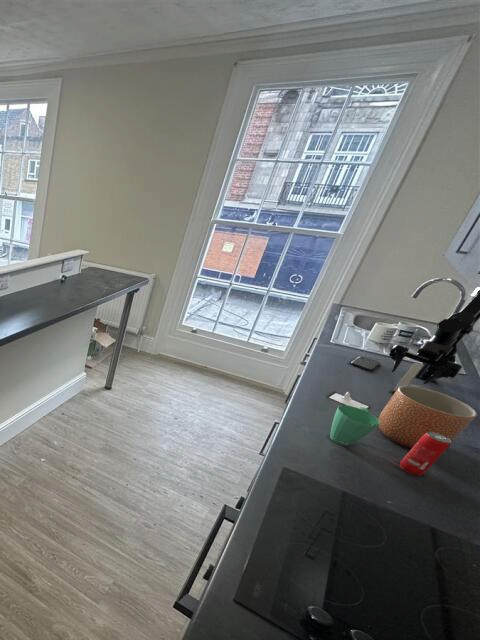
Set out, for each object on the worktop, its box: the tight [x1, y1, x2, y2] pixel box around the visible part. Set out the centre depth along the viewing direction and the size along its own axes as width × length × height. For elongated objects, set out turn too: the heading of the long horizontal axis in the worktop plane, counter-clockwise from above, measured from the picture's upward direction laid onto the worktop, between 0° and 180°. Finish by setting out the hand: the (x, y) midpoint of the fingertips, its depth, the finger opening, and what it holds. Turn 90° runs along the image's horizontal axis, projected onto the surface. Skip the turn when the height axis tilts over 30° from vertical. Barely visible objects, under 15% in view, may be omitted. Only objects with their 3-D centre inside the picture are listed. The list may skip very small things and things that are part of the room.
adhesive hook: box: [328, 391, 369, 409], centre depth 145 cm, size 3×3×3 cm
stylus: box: [391, 361, 424, 395], centre depth 150 cm, size 2×2×13 cm
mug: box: [329, 404, 380, 447], centre depth 122 cm, size 15×10×10 cm
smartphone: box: [350, 355, 381, 372], centre depth 176 cm, size 7×1×15 cm
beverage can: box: [399, 432, 452, 476], centre depth 111 cm, size 5×5×12 cm
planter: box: [377, 385, 478, 450], centre depth 123 cm, size 17×17×15 cm
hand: (408, 377), depth 149 cm, fingers open, 9 cm apart
